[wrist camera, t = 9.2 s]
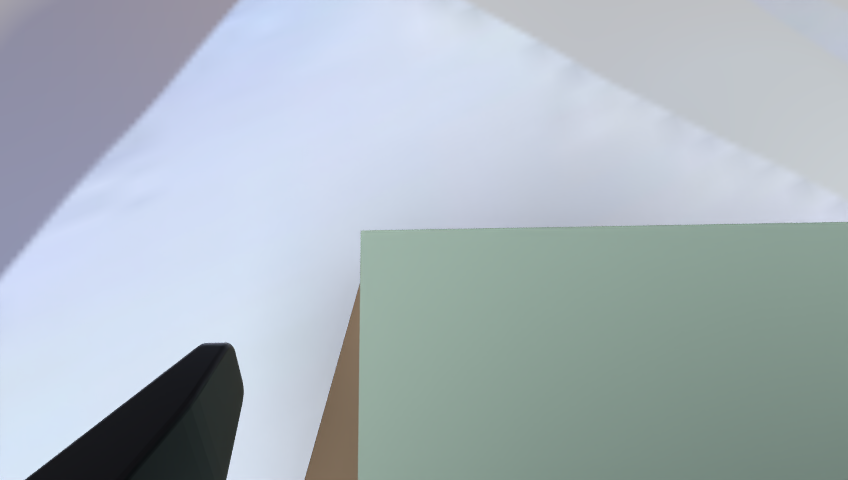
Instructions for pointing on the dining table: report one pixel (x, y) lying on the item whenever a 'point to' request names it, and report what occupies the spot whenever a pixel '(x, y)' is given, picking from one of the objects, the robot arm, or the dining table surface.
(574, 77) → the dining table surface
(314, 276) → the dining table surface
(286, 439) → the dining table surface
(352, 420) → the walnut block
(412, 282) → the tall green block
